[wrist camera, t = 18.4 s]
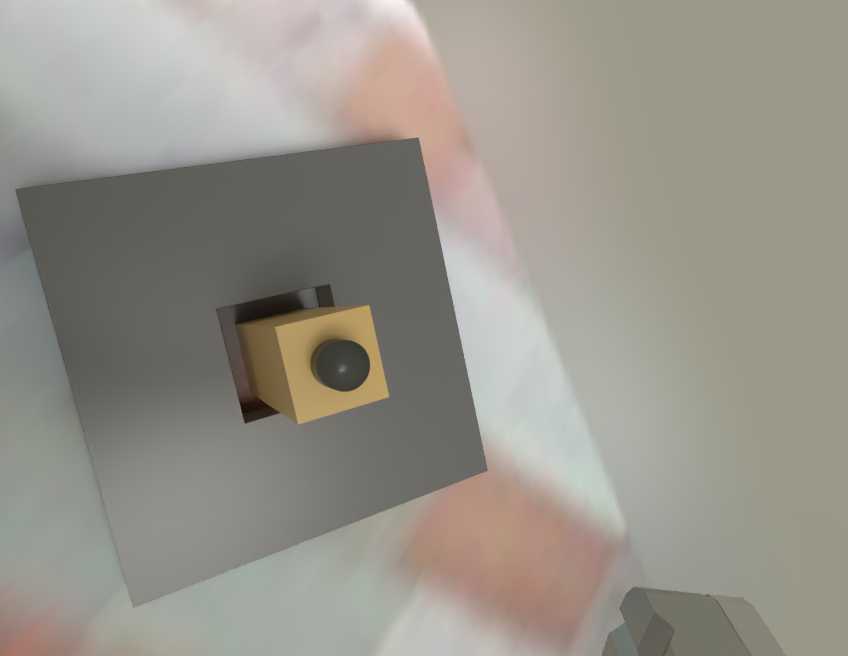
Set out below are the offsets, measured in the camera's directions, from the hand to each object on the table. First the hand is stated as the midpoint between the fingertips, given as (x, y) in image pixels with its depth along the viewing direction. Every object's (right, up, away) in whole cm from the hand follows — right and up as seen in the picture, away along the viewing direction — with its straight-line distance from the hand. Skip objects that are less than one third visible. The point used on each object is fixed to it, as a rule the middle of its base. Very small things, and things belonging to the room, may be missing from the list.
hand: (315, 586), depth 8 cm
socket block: (-7, +2, +28) cm, 29 cm away
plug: (-7, +2, +28) cm, 29 cm away
